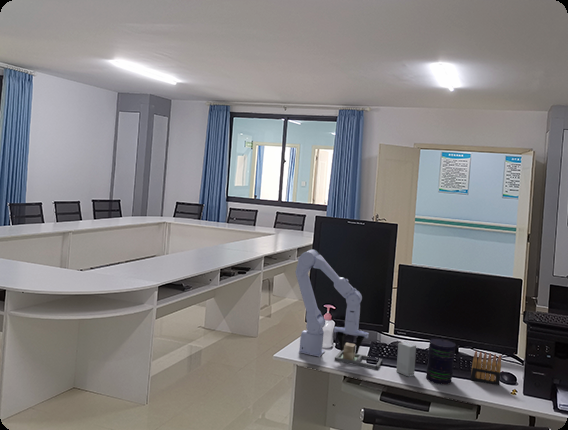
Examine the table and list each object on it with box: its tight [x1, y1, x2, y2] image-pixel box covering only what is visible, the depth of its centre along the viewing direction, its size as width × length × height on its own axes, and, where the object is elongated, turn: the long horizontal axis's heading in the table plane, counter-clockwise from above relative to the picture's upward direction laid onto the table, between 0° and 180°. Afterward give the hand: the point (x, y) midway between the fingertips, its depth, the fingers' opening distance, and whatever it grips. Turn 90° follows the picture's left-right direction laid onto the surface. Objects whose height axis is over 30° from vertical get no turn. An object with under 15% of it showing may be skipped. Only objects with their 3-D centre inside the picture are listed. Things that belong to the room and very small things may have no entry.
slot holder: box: [334, 350, 383, 370], centre depth 217 cm, size 18×10×1 cm, turn 69°
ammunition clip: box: [470, 350, 502, 386], centre depth 205 cm, size 11×2×12 cm, turn 72°
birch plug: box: [342, 342, 356, 360], centre depth 218 cm, size 4×4×6 cm
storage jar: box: [425, 338, 456, 386], centre depth 203 cm, size 10×10×15 cm
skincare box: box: [395, 341, 417, 377], centre depth 207 cm, size 6×4×12 cm
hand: (349, 351), depth 218 cm, fingers open, 6 cm apart
